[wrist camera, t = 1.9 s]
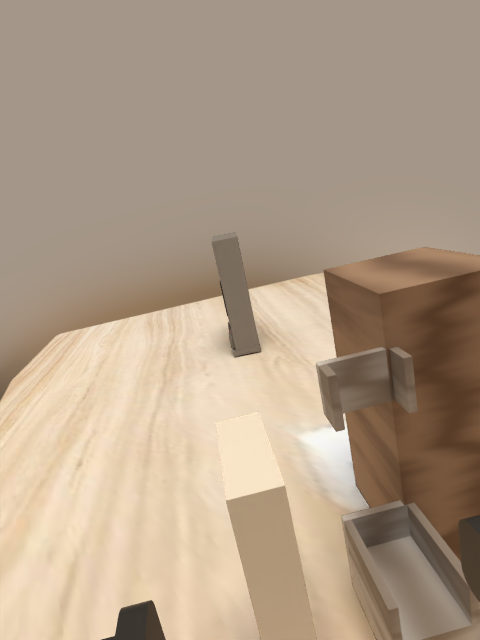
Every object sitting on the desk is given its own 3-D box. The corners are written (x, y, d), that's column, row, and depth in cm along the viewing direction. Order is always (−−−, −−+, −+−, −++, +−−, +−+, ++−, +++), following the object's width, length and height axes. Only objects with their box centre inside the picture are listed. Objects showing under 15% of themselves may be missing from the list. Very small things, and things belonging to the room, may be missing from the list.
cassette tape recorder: (232, 338, 104) (209, 237, 98) (256, 333, 104) (235, 231, 98) (233, 358, 91) (207, 242, 84) (261, 352, 91) (237, 236, 84)
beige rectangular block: (301, 613, 34) (258, 411, 29) (335, 733, 26) (285, 485, 21) (264, 623, 33) (215, 422, 28) (288, 747, 26) (225, 500, 21)
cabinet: (442, 462, 47) (424, 247, 40) (613, 630, 28) (630, 278, 22) (313, 495, 46) (273, 281, 39) (400, 693, 27) (351, 344, 21)
